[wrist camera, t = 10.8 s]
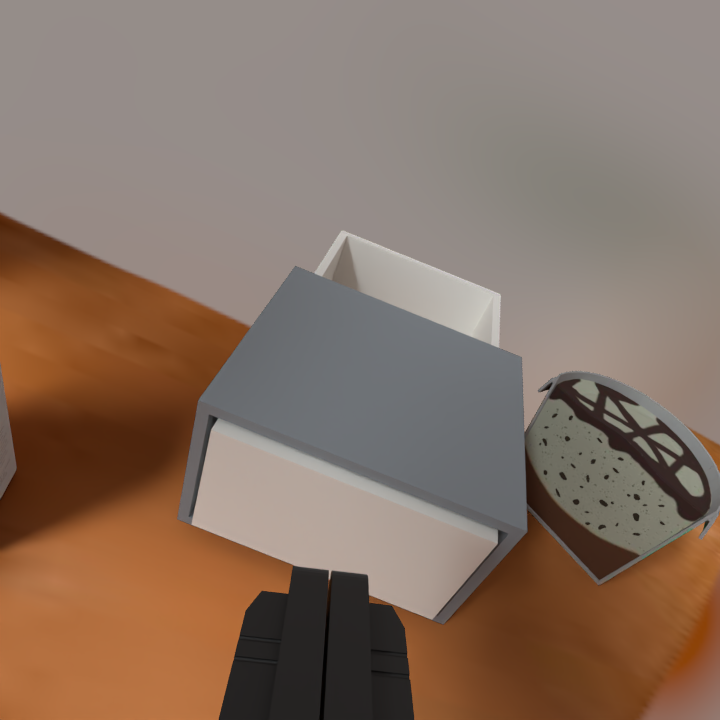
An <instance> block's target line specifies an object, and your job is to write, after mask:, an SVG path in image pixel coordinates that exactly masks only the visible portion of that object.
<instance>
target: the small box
mask: <svg viewBox="0 0 720 720" xmlns="http://www.w3.org/2000/svg"><path fill="white" fill-rule="evenodd" d="M16 469H17V466H16V460H15V453H14V447H13V441H12V434H11V428H10V422H9V416H8V409H7V403H6V397H5V391H4V385H3V378H2V372H1V365H0V499H1V497H2V495H3V493H4V492H5V490H6V488H7V486H8V484H9V482H10V481H11V479H12V477H13V475H14V473H15V471H16Z"/></svg>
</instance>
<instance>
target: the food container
mask: <svg viewBox="0 0 720 720" xmlns="http://www.w3.org/2000/svg"><path fill="white" fill-rule="evenodd" d="M545 390H549V391H548V393H547V395H546V396H545V398H544V400H543V402H542V403H541V405H540V407H539V409H538V410H537V412H536V414H535V416H534V418H533V419H532V421H531V423H530V425H529V426H528V428H527V430H526V432H525V433H524V440H525V471H526V502H527V510H528V511H529V512H530V513H531V514H532V515H533V516H534V517H535V518H536V519H537V520H538V521H539V522H540V523H541V524H542V526H543V527H544V528H545V529H546V530H547V531H548V532H549V533H550V534H551V535H552V536H553V537H554V538H555V539H556V541H557V542H558V543H559V544H560V545H561V546H562V547H563V548H564V549H565V550H566V551H567V552H568V553H569V554H570V555H571V557H572V558H573V559H574V560H575V561H576V562H577V563H578V564H579V565H580V566H581V567H582V568H583V569H584V570H585V571H586V573H587V574H588V575H589V576H590V577H591V578H592V579H593V580H594V581H595V582H596V583H597V584H598V585H601V584H602V583H604V582H606V581H607V580H609V579H611V578H612V577H614V576H616V575H617V574H619V573H621V572H622V571H624V570H626V569H627V568H629V567H631V566H632V565H634V564H636V563H637V562H639V561H641V560H642V559H644V558H646V557H647V556H649V555H651V554H652V553H654V552H655V551H657V550H659V549H660V548H662V547H664V546H665V545H667V544H669V543H670V542H672V541H674V540H675V539H677V538H679V537H680V536H682V535H684V534H685V533H687V532H689V531H690V530H692V529H694V528H695V527H697V526H699V525H700V524H702V523H704V522H705V525H704V528H703V531H702V533H701V534H700V536H699V538H700V539H701V540H702V538H703V537H704V536H705V534H706V533H707V531H708V530H709V529H710V527H711V526H712V524H713V523H714V522H715V520H716V518H717V517H718V515H719V511H720V473H719V471H718V469H717V466H716V464H715V463H714V461H713V459H712V458H711V456H710V454H709V453H708V452H707V450H706V449H705V447H704V446H703V445H702V443H701V442H700V441H699V440H698V439H697V438H696V436H695V435H694V434H693V433H692V432H691V431H690V430H689V429H688V428H687V427H686V426H685V425H684V424H683V423H682V422H681V421H680V420H679V419H677V418H676V417H675V416H674V415H673V414H672V413H670V412H669V411H668V410H667V409H665V408H664V407H663V406H661V405H660V404H659V403H657V402H655V401H654V400H653V399H651V398H650V397H648V396H647V395H645V394H643V393H641V392H640V391H638V390H636V389H634V388H632V387H630V386H628V385H626V384H624V383H622V382H620V381H617V380H615V379H612V378H610V377H606V376H603V375H600V374H595V373H590V372H582V371H572V372H565V373H561V374H559V375H558V376H557V377H555V378H551V379H550V380H549V381H548V382H547V383H546V384H545V385H543V386H542V387H541V388H540V389H539V390H538V392H542V391H545Z"/></svg>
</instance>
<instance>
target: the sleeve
mask: <svg viewBox="0 0 720 720" xmlns="http://www.w3.org/2000/svg"><path fill="white" fill-rule="evenodd" d="M218 418H220V419H222V420H225V421H227V422H230V423H232V424H235V425H237V426H240V427H242V428H245V429H247V430H250V431H252V432H255V433H257V434H260V435H262V436H265V437H267V438H270V439H272V440H275V441H277V442H280V443H282V444H285V445H287V446H290V447H292V448H295V449H297V450H300V451H302V452H305V453H307V454H310V455H312V456H315V457H317V458H320V459H322V460H325V461H327V462H330V463H332V464H335V465H337V466H340V467H342V468H345V469H347V470H350V471H352V472H355V473H357V474H360V475H363V476H365V477H368V478H370V479H373V480H375V481H378V482H380V483H383V484H385V485H388V486H390V487H393V488H395V489H398V490H400V491H403V492H405V493H408V494H410V495H413V496H415V497H418V498H420V499H423V500H425V501H428V502H430V503H433V504H435V505H438V506H440V507H443V508H445V509H448V510H450V511H453V512H455V513H458V514H460V515H463V516H465V517H468V518H470V519H473V520H475V521H478V522H480V523H483V524H485V525H488V526H490V527H493V528H495V529H498V544H497V545H496V546H495V548H494V549H493V550H492V551H491V552H490V553H489V554H488V556H487V557H486V558H485V559H484V560H483V561H482V563H481V564H480V565H479V566H478V567H477V568H476V570H475V571H474V572H473V573H472V574H471V575H470V576H469V578H468V579H467V580H466V581H465V582H464V583H463V585H462V586H461V587H460V588H459V589H458V590H457V592H456V593H455V594H454V595H453V596H452V597H451V599H450V600H449V601H448V602H447V603H446V604H445V605H444V607H443V608H442V609H441V610H440V611H439V612H438V614H437V615H436V616H435V617H434V618H433V619H432V620H433V621H436V622H438V623H441V624H443V625H444V623H445V622H446V621H447V620H448V619H449V618H450V617H451V616H452V615H453V614H454V612H455V611H456V610H457V609H458V608H459V607H460V606H461V605H462V604H463V602H464V601H465V600H466V599H467V598H468V597H469V596H470V595H471V594H472V592H473V591H474V590H475V589H476V588H477V587H478V586H479V585H480V584H481V583H482V581H483V580H484V579H485V578H486V577H487V576H488V575H489V574H490V573H491V571H492V570H493V569H494V568H495V567H496V566H497V565H498V564H499V563H500V561H501V560H502V559H503V558H504V557H505V556H506V555H507V554H508V553H509V552H510V550H511V549H512V548H513V547H514V546H515V545H516V544H517V543H518V542H519V540H520V539H521V538H522V537H523V536H524V535H525V534H526V533H527V502H526V471H525V440H524V408H523V379H522V357H520V356H518V355H515V354H513V353H510V352H508V351H505V350H503V349H500V348H498V347H495V346H493V345H490V344H488V343H485V342H483V341H480V340H478V339H475V338H473V337H471V336H468V335H466V334H463V333H461V332H458V331H456V330H453V329H451V328H448V327H446V326H443V325H441V324H438V323H436V322H433V321H431V320H428V319H426V318H423V317H421V316H418V315H416V314H413V313H411V312H409V311H406V310H404V309H401V308H399V307H396V306H394V305H391V304H389V303H386V302H384V301H381V300H379V299H376V298H374V297H371V296H369V295H366V294H364V293H361V292H359V291H356V290H354V289H351V288H349V287H347V286H344V285H342V284H339V283H337V282H334V281H332V280H329V279H327V278H324V277H322V276H319V275H317V274H314V273H312V272H309V271H307V270H304V269H302V268H299V267H297V266H295V267H294V269H293V270H292V271H291V273H290V274H289V275H288V277H287V278H286V280H285V281H284V282H283V284H282V285H281V287H280V288H279V289H278V291H277V292H276V294H275V295H274V296H273V298H272V299H271V300H270V302H269V303H268V305H267V306H266V307H265V309H264V310H263V311H262V313H261V314H260V316H259V317H258V318H257V320H256V321H255V322H254V324H253V325H252V327H251V328H250V329H249V331H248V332H247V334H246V335H245V336H244V338H243V339H242V340H241V342H240V343H239V345H238V346H237V347H236V349H235V350H234V352H233V353H232V354H231V356H230V357H229V358H228V360H227V361H226V363H225V364H224V365H223V367H222V368H221V370H220V371H219V372H218V374H217V375H216V376H215V378H214V379H213V381H212V382H211V383H210V385H209V386H208V388H207V389H206V390H205V392H204V393H203V394H202V396H201V397H200V399H199V400H198V405H197V410H196V416H195V422H194V427H193V433H192V439H191V444H190V450H189V455H188V461H187V467H186V472H185V478H184V483H183V489H182V495H181V500H180V506H179V512H178V517H177V519H178V520H181V521H183V522H186V523H188V524H192V519H193V514H194V509H195V505H196V500H197V495H198V490H199V486H200V481H201V476H202V471H203V466H204V462H205V457H206V452H207V447H208V442H209V438H210V433H211V429H212V428H213V426H214V424H215V423H216V421H217V420H218ZM193 526H194V525H193ZM198 528H199V527H198ZM203 530H204V529H203ZM208 532H209V531H208ZM213 534H214V533H213ZM218 536H219V535H218ZM223 538H224V537H223ZM231 541H232V540H231ZM236 543H237V542H236ZM241 545H242V544H241ZM246 547H247V546H246ZM251 549H252V548H251ZM256 551H257V550H256ZM261 553H262V552H261ZM266 555H267V554H266ZM271 557H272V556H271ZM279 560H280V559H279ZM284 562H285V561H284ZM289 564H290V563H289ZM294 566H295V565H294ZM375 598H376V597H375ZM380 600H381V599H380ZM385 602H386V601H385ZM390 604H391V603H390ZM395 606H396V605H395ZM400 608H401V607H400ZM405 610H406V609H405ZM410 612H411V611H410ZM415 614H416V613H415ZM418 615H419V614H418ZM423 617H424V616H423ZM428 619H429V618H428Z"/></svg>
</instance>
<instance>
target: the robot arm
mask: <svg viewBox="0 0 720 720" xmlns="http://www.w3.org/2000/svg"><path fill="white" fill-rule="evenodd" d="M328 580H329V570H324V569H315V568H307V567H298V566H293V570H292V576H291V582H290V588H289V594H284V593H276V592H267V591H261V593H260V594H259V595H258V596H257V598H256V599H255V600H254V601H253V602H252V604H251V605H250V606H249V607H248V608H247V610H246V612H245V616H244V620H243V624H242V628H241V632H240V637H239V640H238V644H237V648H236V652H235V656H234V661H233V664H232V668H231V672H230V676H229V680H228V684H227V688H226V692H225V696H224V700H223V704H222V708H221V712H220V716H219V720H414V712H413V703H412V693H411V684H410V680H409V665H408V658H407V646H406V637H405V628H404V626H403V625H402V623H401V621H400V619H399V617H398V616H397V614H396V612H395V610H394V609H393V607H392V606H390V605H381V604H373V603H369V582H368V575H367V574H359V573H350V572H342V571H333V570H332V571H331V576H330V581H329V587H328Z"/></svg>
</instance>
